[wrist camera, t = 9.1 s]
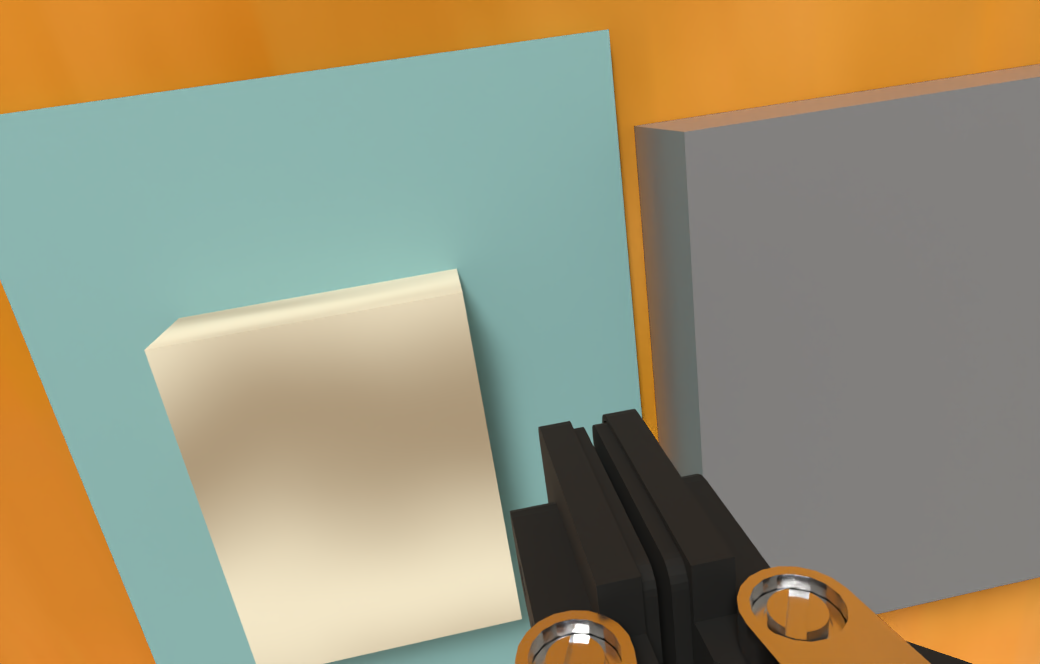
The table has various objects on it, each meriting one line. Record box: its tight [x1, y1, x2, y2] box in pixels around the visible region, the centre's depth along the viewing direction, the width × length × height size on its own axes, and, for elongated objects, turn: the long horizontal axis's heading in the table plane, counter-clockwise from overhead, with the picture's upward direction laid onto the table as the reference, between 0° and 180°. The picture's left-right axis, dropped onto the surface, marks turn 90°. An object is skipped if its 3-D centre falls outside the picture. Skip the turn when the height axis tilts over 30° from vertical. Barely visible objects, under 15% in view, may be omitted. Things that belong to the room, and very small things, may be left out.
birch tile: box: [144, 269, 522, 664], centre depth 15 cm, size 8×6×2 cm
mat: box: [0, 30, 642, 664], centre depth 16 cm, size 16×13×1 cm
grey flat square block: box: [634, 64, 1040, 614], centre depth 16 cm, size 12×11×3 cm
